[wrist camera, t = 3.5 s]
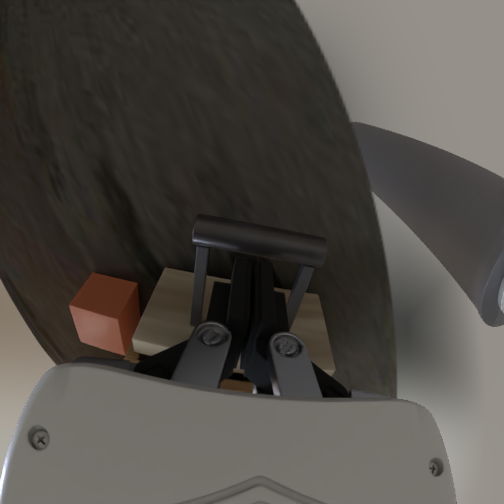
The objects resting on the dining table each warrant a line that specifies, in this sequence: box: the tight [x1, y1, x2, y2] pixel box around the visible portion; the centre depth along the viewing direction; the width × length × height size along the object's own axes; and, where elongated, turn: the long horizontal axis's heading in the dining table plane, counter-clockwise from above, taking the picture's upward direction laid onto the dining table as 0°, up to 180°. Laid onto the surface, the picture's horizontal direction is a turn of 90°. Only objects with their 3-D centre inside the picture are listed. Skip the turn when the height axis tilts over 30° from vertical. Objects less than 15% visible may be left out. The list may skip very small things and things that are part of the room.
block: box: [69, 272, 141, 356], centre depth 20 cm, size 4×4×4 cm
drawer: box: [132, 214, 335, 382], centre depth 19 cm, size 20×11×7 cm, turn 169°
